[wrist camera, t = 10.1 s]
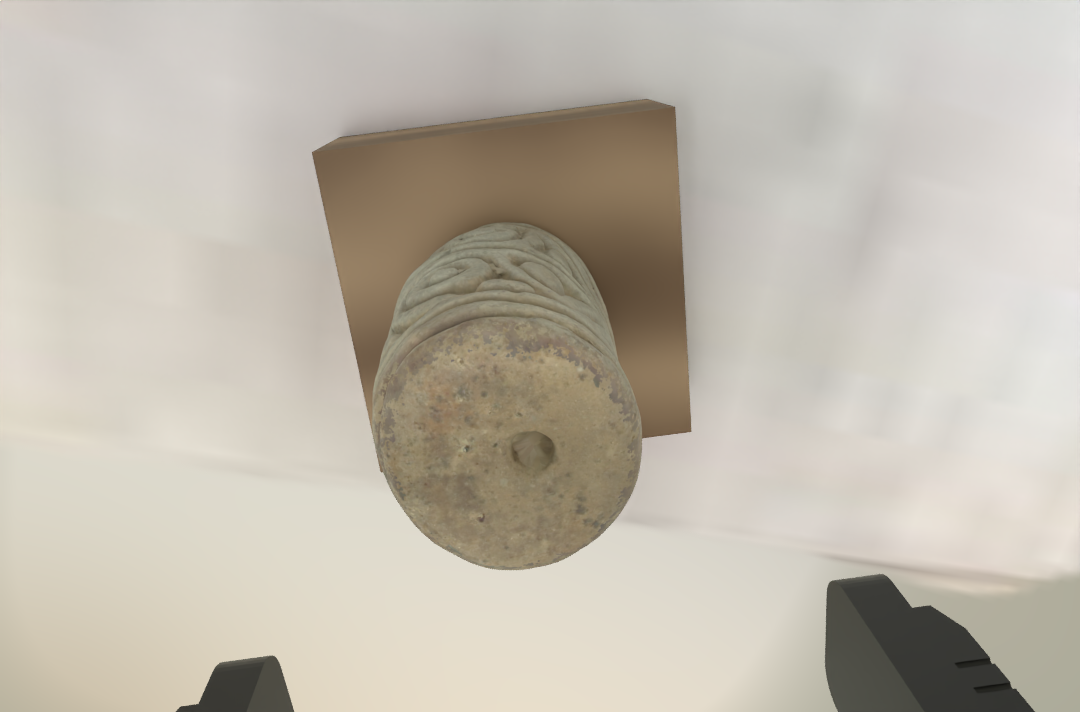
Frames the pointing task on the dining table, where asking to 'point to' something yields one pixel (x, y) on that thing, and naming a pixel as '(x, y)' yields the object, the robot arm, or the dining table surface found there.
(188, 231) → the dining table surface
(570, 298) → the carving
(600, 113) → the walnut block
